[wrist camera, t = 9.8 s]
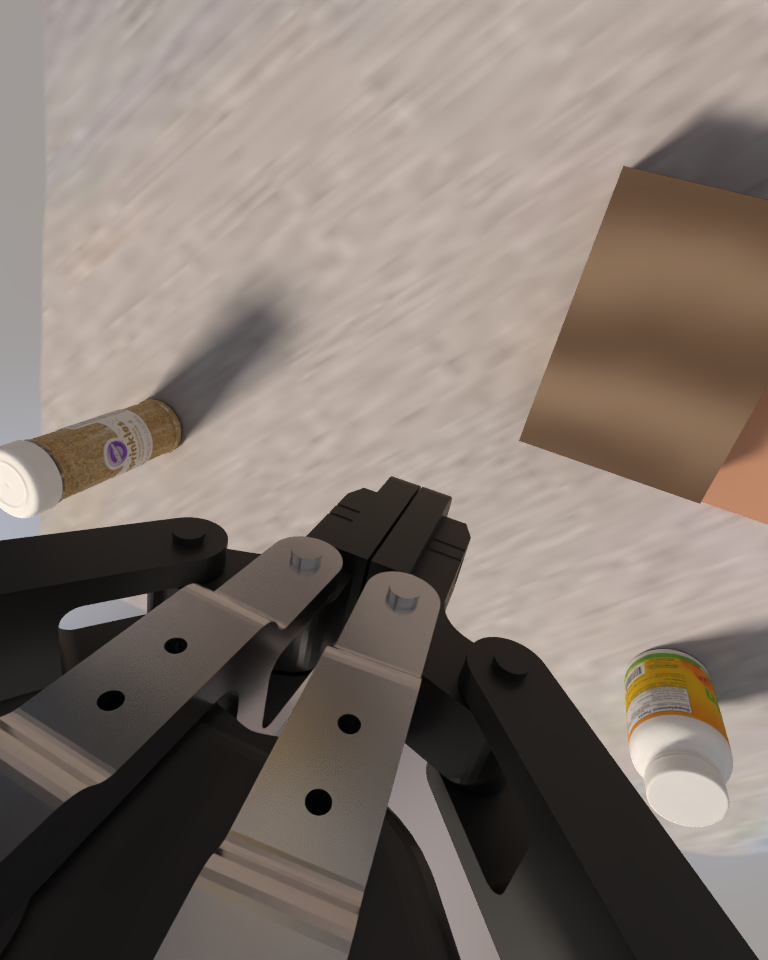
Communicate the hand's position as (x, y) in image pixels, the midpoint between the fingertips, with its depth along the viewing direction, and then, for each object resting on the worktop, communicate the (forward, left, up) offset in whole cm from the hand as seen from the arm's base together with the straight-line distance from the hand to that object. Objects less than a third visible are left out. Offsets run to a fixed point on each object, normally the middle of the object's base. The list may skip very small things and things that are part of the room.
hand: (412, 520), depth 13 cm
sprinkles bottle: (+14, -25, -24) cm, 37 cm away
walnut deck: (-3, +7, -24) cm, 25 cm away
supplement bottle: (+18, +17, -24) cm, 34 cm away
